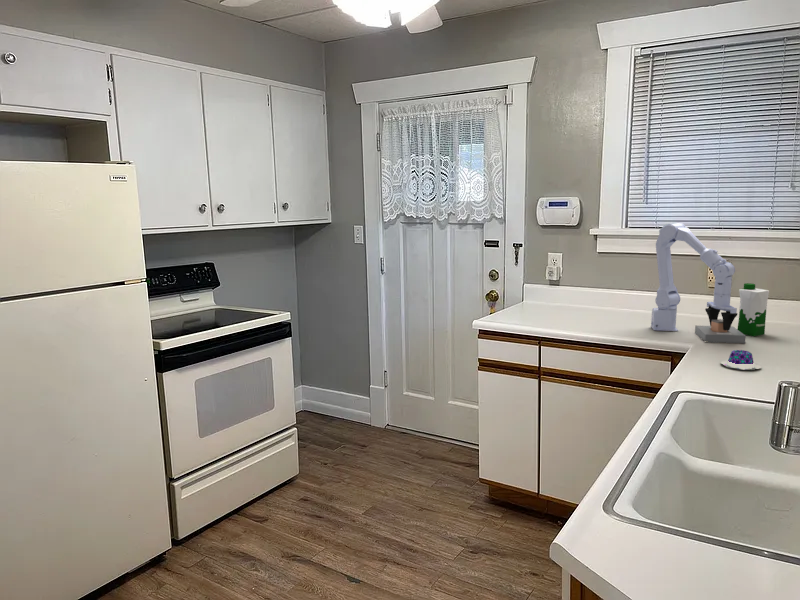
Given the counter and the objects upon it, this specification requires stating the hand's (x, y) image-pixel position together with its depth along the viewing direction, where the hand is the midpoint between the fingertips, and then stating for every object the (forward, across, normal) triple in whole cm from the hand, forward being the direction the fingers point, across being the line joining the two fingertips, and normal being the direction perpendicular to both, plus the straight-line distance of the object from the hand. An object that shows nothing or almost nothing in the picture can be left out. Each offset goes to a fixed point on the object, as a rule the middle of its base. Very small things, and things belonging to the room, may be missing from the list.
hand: (719, 328), depth 238 cm
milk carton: (+4, -3, +16) cm, 17 cm away
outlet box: (+4, 0, 0) cm, 4 cm away
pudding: (+4, +36, -20) cm, 41 cm away
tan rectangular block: (+4, 0, 0) cm, 4 cm away
